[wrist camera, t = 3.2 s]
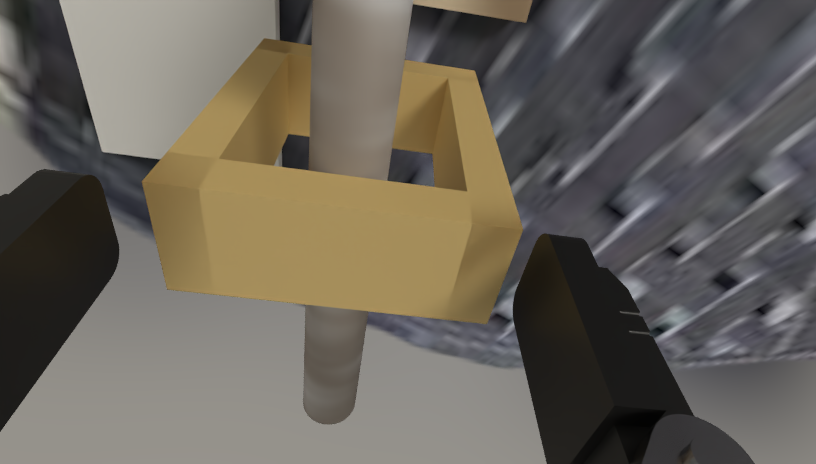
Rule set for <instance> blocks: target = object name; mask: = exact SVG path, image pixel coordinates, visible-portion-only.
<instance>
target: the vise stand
mask: <svg viewBox="0 0 816 464" xmlns="http://www.w3.org/2000/svg"><path fill="white" fill-rule="evenodd" d="M413 4H416V5H422V6H428V7H434V8H440V9H446V10H452V11H458V12H464V13H470V14H476V15H482V16H488V17H494V18H500V19H506V20H512V21H518V22H525V23H526V21H527V17H528V14H529V10H530V7H531V4H532V0H313V6H312V50H311V93H310V136H309V171H316V172H324V173H331V174H339V175H346V176H354V177H361V178H369V179H376V180H384V181H387V179H388V172H389V165H390V158H391V151H392V144H393V138H394V131H395V124H396V117H397V110H398V103H399V96H400V89H401V82H402V75H403V68H404V62H405V55H406V48H407V41H408V34H409V27H410V20H411V13H412V6H413ZM367 317H368V311H361V310H352V309H343V308H333V307H324V306H315V305H306V310H305V353H304V398H303V404H304V409H305V411H306V413H307V414H308V416H309V417H310V418H311V419H313V420H314V421H316V422H318V423H322V424H336V423H339V422H341V421H343V420H344V419H346V418H347V417H348V416H349V415H350V413H351V412H352V411H353V409H354V405H355V400H356V392H357V386H358V379H359V372H360V365H361V359H362V351H363V344H364V338H365V331H366V324H367Z"/></svg>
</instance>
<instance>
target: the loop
mask: <svg viewBox="0 0 816 464" xmlns="http://www.w3.org/2000/svg"><path fill="white" fill-rule="evenodd" d="M311 50H312V45H306V44H299V43H293V42H286V41H280V40H274V39H267V38H264V39H263V40H262V41H261V43H260V44H259V45H258V46H257V47H256V48H255V50H254V51H253V52H252V53H251V54H250V55H249V57H248V58H247V59H246V60H245V61H244V62H243V64H242V65H241V66H240V67H239V68H238V69H237V71H236V72H235V73H234V74H233V75H232V76H231V78H230V79H229V80H228V81H227V82H226V84H225V85H224V86H223V87H222V88H221V89H220V91H219V92H218V93H217V94H216V95H215V96H214V98H213V99H212V100H211V101H210V102H209V103H208V105H207V106H206V107H205V108H204V109H203V110H202V112H201V113H200V114H199V115H198V116H197V117H196V119H195V120H194V121H193V122H192V123H191V125H190V126H189V127H188V128H187V129H186V130H185V132H184V133H183V134H182V135H181V136H180V137H179V139H178V140H177V141H176V142H175V143H174V144H173V146H172V147H171V148H170V149H169V150H168V151H167V153H166V154H165V155H164V156H163V157H162V158H161V160H160V161H159V162H158V163H157V164H156V166H155V167H154V168H153V169H152V170H151V171H150V173H149V174H148V175H147V176H146V177H145V178H144V180H143V181H142V184H143V189H144V193H145V197H146V201H147V206H148V210H149V214H150V218H151V223H152V227H153V231H154V235H155V240H156V244H157V248H158V252H159V257H160V261H161V265H162V270H163V274H164V278H165V282H166V286H167V290H176V291H185V292H195V293H204V294H213V295H222V296H231V297H241V298H250V299H259V300H268V301H278V302H287V303H296V304H305V305H315V306H324V307H333V308H343V309H352V310H361V311H371V312H380V313H389V314H398V315H408V316H417V317H426V318H436V319H445V320H454V321H463V322H473V323H482V324H487V322H488V320H489V317H490V315H491V312H492V309H493V307H494V304H495V302H496V299H497V296H498V294H499V291H500V289H501V286H502V283H503V281H504V278H505V276H506V273H507V270H508V268H509V265H510V263H511V260H512V257H513V255H514V252H515V249H516V247H517V244H518V242H519V239H520V236H521V234H522V231H523V228H522V224H521V221H520V218H519V215H518V211H517V208H516V205H515V201H514V198H513V195H512V192H511V188H510V185H509V182H508V178H507V175H506V172H505V169H504V165H503V162H502V159H501V155H500V152H499V149H498V145H497V142H496V139H495V136H494V132H493V129H492V126H491V122H490V119H489V116H488V113H487V109H486V106H485V103H484V99H483V96H482V93H481V90H480V86H479V83H478V80H477V76H476V73H475V71H473V70H467V69H460V68H454V67H447V66H441V65H434V64H428V63H422V62H415V61H409V60H405V62H404V68H403V75H402V82H401V89H400V96H399V103H398V110H397V117H396V124H395V131H394V138H393V144H392V148H395V149H402V150H409V151H416V152H423V153H431V154H433V168H434V182H435V187H429V186H422V185H414V184H407V183H399V182H392V181H384V180H376V179H369V178H361V177H354V176H346V175H339V174H331V173H324V172H316V171H308V170H301V169H293V168H286V167H278V166H274V164H275V162H276V160H277V158H278V156H279V153H280V151H281V149H282V147H283V145H284V143H285V140H286V138H287V136H288V134H293V135H301V136H308V137H309V136H310V93H311Z"/></svg>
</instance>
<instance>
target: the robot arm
mask: <svg viewBox="0 0 816 464" xmlns="http://www.w3.org/2000/svg"><path fill="white" fill-rule="evenodd" d="M118 259H119V244H118V240H117V236H116V233H115V229H114V226H113V222H112V219H111V215H110V212H109V209H108V205H107V202H106V198H105V195H104V191H103V188H102V185H101V183H100V181H99V180H98V179H97V178H96V177H95V176H92V175H86V174H78V173H70V172H63V171H55V170H47V169H44V170H39V171H37V172H36V173H34V174H33V175H32V176H30V177H29V178H28V179H27V180H25V181H24V182H23V183H22V184H21V185H20V186H18V187H17V188H16V189H14V190H13V191H12V192H11V193H10V194H4V195H2V196H0V431H1V430H2V429H3V427H4V426H5V424H6V423H7V421H8V420H9V419H10V417H11V416H12V415H13V413H14V412H15V410H16V409H17V408H18V406H19V405H20V404H21V402H22V401H23V399H24V398H25V397H26V395H27V394H28V393H29V391H30V390H31V388H32V387H33V386H34V384H35V383H36V381H37V380H38V378H39V377H40V376H41V375H42V373H43V372H44V370H45V369H46V367H47V366H48V365H49V363H50V362H51V361H52V359H53V358H54V357H55V355H56V354H57V352H58V351H59V349H60V348H61V347H62V345H63V344H64V343H65V341H66V340H67V339H68V337H69V336H70V334H71V333H72V332H73V330H74V329H75V327H76V326H77V324H78V323H79V322H80V320H81V319H82V318H83V316H84V315H85V314H86V312H87V311H88V309H89V308H90V307H91V305H92V304H93V302H94V301H95V300H96V298H97V297H98V296H99V294H100V293H101V291H102V290H103V289H104V287H105V286H106V284H107V283H108V282H109V280H110V279H111V277H112V276H113V274H114V272H115V270H116V267H117V263H118ZM639 313H640V311H639V309H638V308H637V306H636V304H635V302H634V300H633V298H632V296H631V294H630V292H629V290H628V289H627V288H626V287H625V286H624V285H623V284H622V283H621V282H620V281H619V280H618V279H617V278H616V277H615V276H614V275H613V274H612V273H611V272H610V270H609V269H608V268H602V267H598V265H597V263H596V261H595V259H594V257H593V254H592V252H591V250H590V248H589V246H588V244H587V242H586V241H585V240H584V239H582V238H575V237H567V236H559V235H551V234H542V235H541V236H540V237H539V238H538V240H537V241H536V244H535V246H534V248H533V251H532V253H531V255H530V258H529V260H528V263H527V265H526V267H525V270H524V272H523V275H522V277H521V279H520V282H519V284H518V287H517V289H516V292H515V296H514V302H513V320H514V325H515V329H516V333H517V338H518V342H519V346H520V350H521V355H522V359H523V363H524V368H525V371H526V376H527V380H528V385H529V389H530V393H531V398H532V402H533V406H534V410H535V415H536V419H537V423H538V428H539V432H540V436H541V440H542V445H543V449H544V453H545V457H546V462H547V464H755V463H754V462H753V461H752V459H751V458H750V457H749V455H748V454H747V453H746V452H745V451H744V449H743V448H742V447H741V446H740V445H739V444H738V443H737V442H736V441H734V440H733V439H732V438H731V437H730V436H729V435H727V434H726V433H725V432H723V431H722V430H720V429H719V428H718V427H716V426H714V425H712V424H711V423H709V422H707V421H704V420H702V419H700V418H697V417H695V416H694V415H693V413H692V411H691V409H690V407H689V405H688V403H687V402H686V400H685V398H684V396H683V394H682V392H681V390H680V388H679V386H678V384H677V382H676V380H675V379H674V377H673V375H672V373H671V371H670V369H669V367H668V365H667V363H666V361H665V359H664V357H663V356H662V354H661V352H660V350H659V348H658V346H657V344H656V342H655V340H654V338H653V336H650V335H649V332H650V331H649V329H648V327H647V325H646V323H645V321H644V319H643V317H641V316H639Z"/></svg>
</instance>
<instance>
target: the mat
mask: <svg viewBox="0 0 816 464" xmlns="http://www.w3.org/2000/svg"><path fill="white" fill-rule="evenodd" d="M59 1H60V4H61V8H62V11H63V15H64V19H65V22H66V26H67V29H68V33H69V36H70V40H71V43H72V47H73V50H74V54H75V57H76V61H77V64H78V68H79V72H80V75H81V79H82V82H83V86H84V89H85V93H86V96H87V100H88V103H89V107H90V110H91V114H92V117H93V121H94V125H95V128H96V132H97V135H98V139H99V142H100V146H101V149H102V152H107V153H115V154H123V155H130V156H138V157H146V158H153V159H161V158H162V157H163V156H164V155H165V154H166V153H167V151H168V150H169V149H170V148H171V147H172V146H173V144H174V143H175V142H176V141H177V140H178V139H179V137H180V136H181V135H182V134H183V133H184V132H185V130H186V129H187V128H188V127H189V126H190V125H191V123H192V122H193V121H194V120H195V119H196V117H197V116H198V115H199V114H200V113H201V112H202V110H203V109H204V108H205V107H206V106H207V105H208V103H209V102H210V101H211V100H212V99H213V98H214V96H215V95H216V94H217V93H218V92H219V91H220V89H221V88H222V87H223V86H224V85H225V84H226V82H227V81H228V80H229V79H230V78H231V76H232V75H233V74H234V73H235V72H236V71H237V69H238V68H239V67H240V66H241V65H242V64H243V62H244V61H245V60H246V59H247V58H248V57H249V55H250V54H251V53H252V52H253V51H254V50H255V48H256V47H257V46H258V45H259V44H260V43H261V41H262V40H263V39H264V38H267V39H274V40H280V17H279V0H59ZM274 166H278V167H282V149H281V151H280V153H279V156H278V158H277V160H276V162H275V164H274Z"/></svg>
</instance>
